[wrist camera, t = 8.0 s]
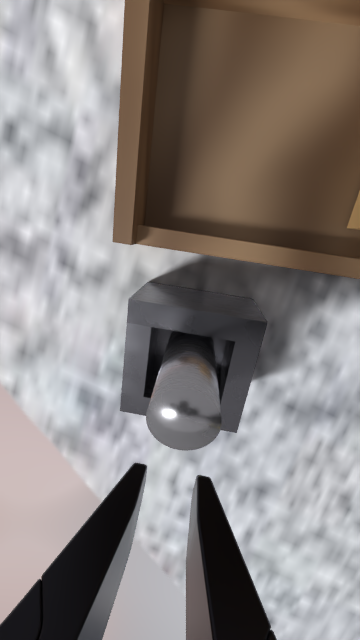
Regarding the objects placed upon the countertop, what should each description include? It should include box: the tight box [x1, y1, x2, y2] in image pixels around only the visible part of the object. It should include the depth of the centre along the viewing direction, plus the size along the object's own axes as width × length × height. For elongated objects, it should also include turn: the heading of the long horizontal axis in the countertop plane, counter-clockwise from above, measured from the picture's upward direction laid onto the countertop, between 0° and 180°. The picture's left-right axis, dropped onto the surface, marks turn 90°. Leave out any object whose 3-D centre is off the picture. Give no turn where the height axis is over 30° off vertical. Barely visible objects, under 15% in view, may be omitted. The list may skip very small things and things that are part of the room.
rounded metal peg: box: [146, 331, 222, 450], centre depth 14 cm, size 3×3×7 cm
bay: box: [113, 0, 360, 279], centre depth 12 cm, size 22×12×3 cm, turn 82°
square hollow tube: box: [120, 282, 267, 433], centre depth 16 cm, size 7×7×4 cm
